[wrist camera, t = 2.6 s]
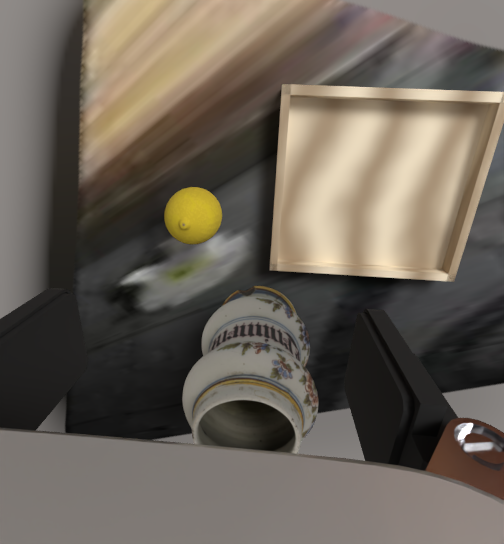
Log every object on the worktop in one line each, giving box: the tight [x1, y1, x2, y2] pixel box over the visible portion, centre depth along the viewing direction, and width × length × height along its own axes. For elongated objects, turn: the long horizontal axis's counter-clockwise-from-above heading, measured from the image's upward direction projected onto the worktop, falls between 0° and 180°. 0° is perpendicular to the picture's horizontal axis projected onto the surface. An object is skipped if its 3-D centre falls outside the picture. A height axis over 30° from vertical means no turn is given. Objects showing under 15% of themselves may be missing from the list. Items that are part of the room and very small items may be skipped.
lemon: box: [165, 187, 222, 244], centre depth 32 cm, size 6×6×8 cm
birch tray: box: [270, 84, 504, 282], centre depth 32 cm, size 20×18×2 cm
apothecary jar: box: [182, 286, 318, 454], centre depth 32 cm, size 12×12×18 cm
